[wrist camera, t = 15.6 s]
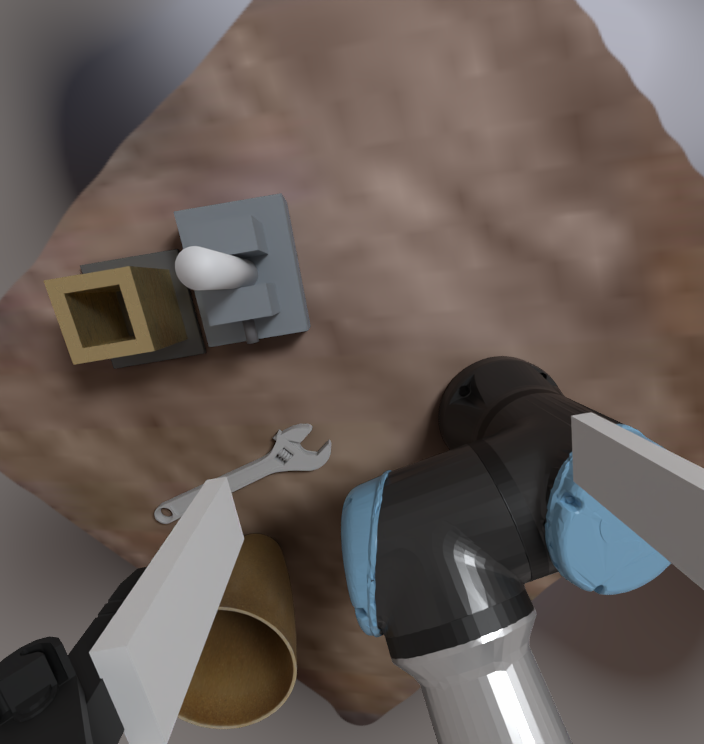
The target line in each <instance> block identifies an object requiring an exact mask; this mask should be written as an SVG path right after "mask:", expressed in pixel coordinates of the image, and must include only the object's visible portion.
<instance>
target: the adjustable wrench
mask: <svg viewBox="0 0 704 744" xmlns="http://www.w3.org/2000/svg"><path fill="white" fill-rule="evenodd" d="M311 430H312V425H310V424H297V425H294V426H291V427H289V428H287V429H285V430H284V431H281V430H279V431H278V433H277V434H276V435H275V436H274V437H273V439H274V440H276V443H275V445H274V447H273V448H272V450H271V451H270V452H269V453H268V454H266V455H265V456H263V457H261V458H259V459H257V460H255V461H253V462H250V463H248V464H246V465H244V466H242V467H240V468H237V469H235V470H233V471H231V472H229V473H226V474H224V475H222V476H220V477H218V478H221V477H227V480H228V483H229V487H230V490H231V493H232V492H234V491H236V490H238V489H240V488H242V487H244V486H246V485H248V484H250V483H252V482H254V481H256V480H259V479H261V478H263V477H265V476H267V475H269V474H272V473H275V472H281V471H293V470H301V471H310V470H315V469H318V468H320V467H321V466H323V465H324V464H325V463H326V462H327V460H328V458H329V456H330V454H331V441H330V440H328V441H327V442H326V443H325V444H324V445H323V447H322V448H321V449H320V450H319V451H318V452H315V451H308V450H305V449H304V448H303V447H302V446H301V445H300V443H301V441H302V440H303V439H304V438H305V437H306V436H307V435H308V434H309V433H310V431H311ZM277 454H278V456H277ZM279 457H281V458H279ZM282 458H283V460H282ZM284 460H285V461H284ZM203 485H204V484H202V485H200V486H198V487H196V488H194V489H192V490H189V491H187V492H185V493H183V494H181V495H178V496H176V497H174V498H172V499H170V500H168V501H165V502H163V503H162V504H160V505H159V507H158V508H157V509H156V510H155V513H154V515H155V518H156V520H157V521H159V522H160V523H164V524H167V523H170V522H172V521H174V520H177V519H179V518H181V517H182V516H183V514H184V513H185V511H186V510H187V508H188V507H189V505H190V504H191V502H192V501H193V499H194V498H195V496H196V495H197V494H198V492H199V491H200V489H201V488H202V486H203ZM162 508H168V509H169V510H171V512H172V513H173V515H172V516H170V517H167V516H164V515H163V514H162V513H161V509H162Z"/></svg>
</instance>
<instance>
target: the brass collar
mask: <svg viewBox="0 0 704 744" xmlns="http://www.w3.org/2000/svg"><path fill="white" fill-rule="evenodd" d="M44 283H45V286H46V289H47V292H48V295H49V297H50V300H51V303H52V306H53V309H54V311H55V314H56V317H57V320H58V323H59V325H60V328H61V331H62V334H63V337H64V340H65V342H66V345H67V348H68V351H69V354H70V356H71V359H72V362H73V365H75V364H81V363H87V362H93V361H98V360H104V359H110V358H116V357H122V356H128V355H134V354H140V353H146V352H152V351H156V350H159V349H162V348H164V347H167V346H170V345H173V344H175V343H178V342H181V341H184V340H186V339H188V337H187V334H186V330H185V326H184V323H183V319H182V315H181V312H180V308H179V304H178V301H177V297H176V293H175V290H174V286H173V282H172V279H171V275H170V271H169V270H168V269H157V268H145V267H134V266H127V267H121V268H115V269H110V270H104V271H98V272H92V273H86V274H80V275H74V276H68V277H62V278H56V279H51V280H45V281H44ZM117 291H121V292H122V295H123V298H124V302H125V305H126V308H127V311H128V314H129V318H130V321H131V324H132V327H133V331H134V334H135V336H130V337H129V334H128V331H127V327H126V324H125V321H124V318H123V315H122V311H121V308H120V305H119V302H118V299H117V295H116V292H117Z"/></svg>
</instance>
